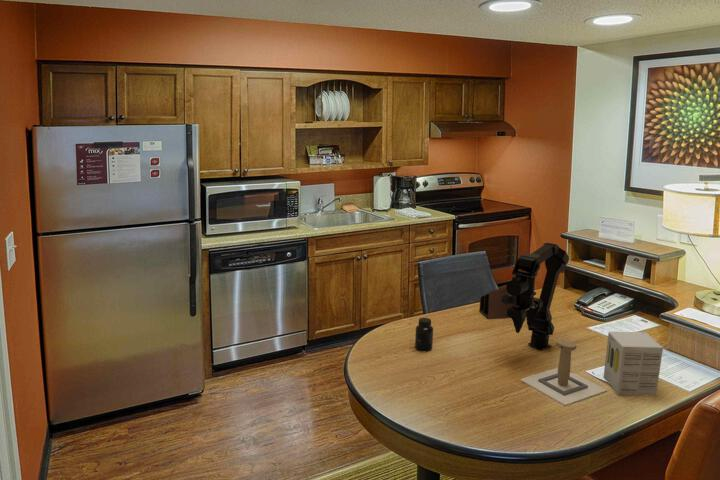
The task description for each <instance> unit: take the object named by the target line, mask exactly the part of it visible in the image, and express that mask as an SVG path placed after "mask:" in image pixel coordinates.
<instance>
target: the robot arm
mask: <svg viewBox="0 0 720 480" xmlns="http://www.w3.org/2000/svg"><path fill="white" fill-rule="evenodd" d="M569 260H570V256H569V255H568V252H567V251H566V250H564V249H563V248H561V247H560V245H558V244H556V243H552V242H545V243H543V245H542V246H541V247H539V248H537V249H536V250H535V251H533V252H531V253H524V254H521V255H520V256H519V257H518V258H517V260H516V261H515V264H514V267H513V270H512V272H511V275H512V278H511V279H510V281H509V280H508V282H507V284H506V286H505V288H506V289H507V292H508V293H509V294H506V295H505V294H504V295H502V300H501V302H502V303H503V304H504V305H507V304H513V303H514V305H515V306H518V307H515V306H512V307H510V308H509V309H507V310H506V316H508V317H510V319H511V321H512V323H513V327H514V330H515V333H517V334H520V332H521V330H522V327H523V325H524V322H525V321H526V326H527V328H528V331H530V332H531V331H532V332H531V336H530V342H528V343H527V345H528V346H530V347H533V348H535V349H537V350H538V351H542V350H545V349H550V348H551V347H552V345H551V344H549V340H550V336H553V335H554V331H555V326H554V324H553V323H552V320H553V316H552V312H551V309H550V308H551V305H552V303H553V302H552V301H553V299H554V294H555V290H556V287H557V283H558V279H559V275H560V274H561V273H562V272H563V271H565V269H566V267H567V265H568V263H569ZM542 263H544V266H545V270H546V273H545V277H544V280H543V284H542V287H541V290H540V295H539V298H538V297H535V296H536V295H537V291H535V288H536V287H535V286H536V277H537V276H538V272H539V270H540V269H541V264H542ZM525 316H527V317H525Z"/></svg>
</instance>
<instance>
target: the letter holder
mask: <svg viewBox="0 0 720 480" xmlns="http://www.w3.org/2000/svg"><path fill="white" fill-rule="evenodd" d="M504 294H505V295H506V294H509V293H508V292H507V289H506V287H504V288H499V289H493V290H489V292H488V293H486V294H484V295H481V296H480V299H479V310H478V311H479V313H480V314H481V315H482V316H484V317H485V318H486V319H487V320H495V319H498V320H499V319H509V318H510V317H508V316H506V310H507V309H509V308H510V307H512V306H515V305H514V303H513V304H507V305H504V304H503V303H502V302H501V300H502V295H504ZM515 307H518V306H515ZM525 317H526V318H527V316H525ZM510 319H511V318H510Z"/></svg>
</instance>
